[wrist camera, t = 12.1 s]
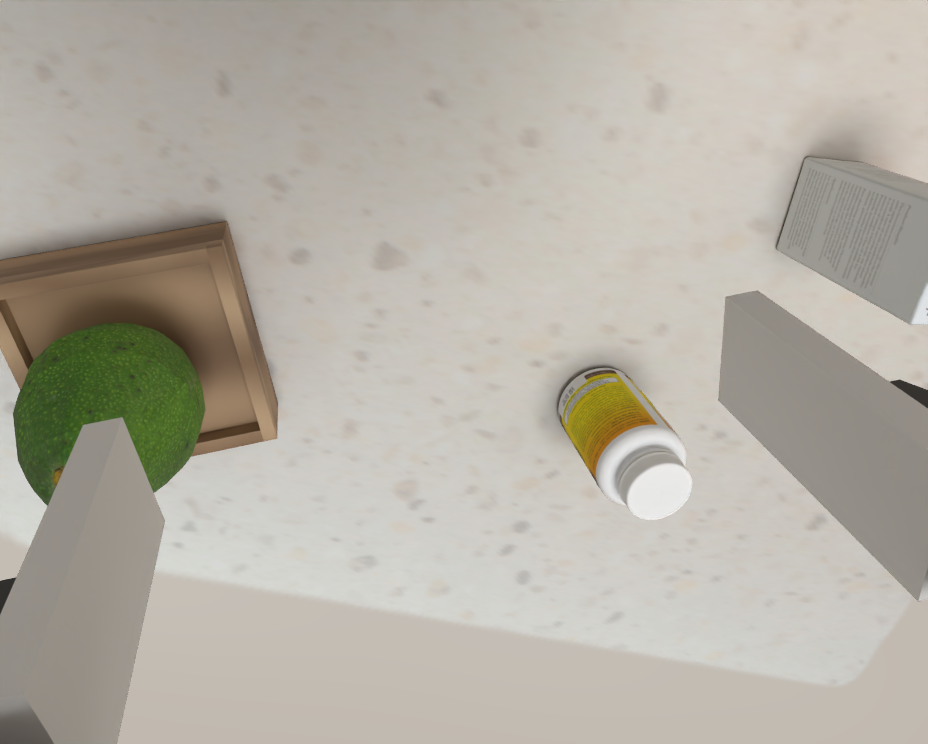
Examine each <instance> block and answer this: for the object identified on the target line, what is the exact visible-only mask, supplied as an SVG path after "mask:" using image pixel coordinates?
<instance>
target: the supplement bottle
mask: <svg viewBox="0 0 928 744" xmlns="http://www.w3.org/2000/svg"><path fill="white" fill-rule="evenodd" d="M558 413H559V419H560V422H561V424H562V426H563V428H564V430H565V431H566V433H567V435H568V436H569V438H570V440H571V441H572V443H573V445H574V446H575V448H576V450H577V451H578V453H579V455H580V456H581V458H582V459H583V461H584V463H585V465H586V466H587V468H588V469H589V471H590V473H591V474H592V476H593V478H594V479H595V481H596V483H597V485H598V487H599V488H600V489H601V491H602V492H603V493H604V495H605V496H606V497H607V498H609V499H610V500H612V501H613V502H615V503H618V504H620V505H625V506H627V507H628V509H629V510H630V511H631V512H632V514H634V515H635V516H637V517H638V518H641V519H645V520H656V519H661V518H664V517H666V516H669V515H671V514H673V513H674V512H676V511H677V510H678V509H679V508H680V507H681V506H682V505H683V504H684V503H685V502H686V501H687V499H688V497H689V495H690V493H691V490H692V477H691V475H690V473H689V471H688V470H687V469H686V467H685V466H686V460H687V456H686V449H685V446H684V444H683V442H682V440H681V439H680V437H679V436H678V435H677V433H676V432H675V431H674V430H673V429H672V427H671V426H670V425H669V424H668V423H667V421H666V420H665V419H664V418H663V417H662V415H661V414H660V413H659V412H658V411H657V409H656V408H655V407H654V406H653V404H652V403H651V402H650V401H649V400H648V399H647V397H646V396H645V395H644V394H643V393H642V391H641V390H640V389H639V388H638V387H637V386H636V385H635V383H634V382H633V381H632V380H631V379H630V378H629V377H628V376H627V375H626V374H624V373H623V372H621V371H618V370H616V369H612V368H597V369H592V370H589V371H587V372H584V373H582V374H581V375H579V376H578V377H576V378H575V379H574V380H573V381H572V382H571V383H570V384H569V385H568V386H567V387H566V389H565V390H564V392H563V394H562V396H561V399H560V402H559V408H558Z"/></svg>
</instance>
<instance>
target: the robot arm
mask: <svg viewBox="0 0 928 744" xmlns="http://www.w3.org/2000/svg"><path fill="white" fill-rule="evenodd" d="M718 400H719V401H720V402H721V403H722V404H723V405H724V406H725V407H726V409H727V410H728V411H729V412H730V413H731V414H732V415H733V416H734V417H735V418H736V419H737V420H738V421H739V422H740V423H741V424H742V425H743V426H744V427H745V428H746V429H747V430H748V431H749V432H750V433H751V434H752V435H753V436H754V437H755V438H756V439H757V440H758V441H759V442H760V443H761V444H762V445H763V446H764V447H765V448H766V449H767V450H768V451H769V452H770V453H771V454H772V455H773V456H774V457H775V458H776V459H777V460H778V461H779V462H780V463H781V464H782V465H783V466H784V467H785V468H786V469H787V470H788V471H789V472H790V473H791V474H792V475H793V476H794V477H795V478H796V479H797V480H798V481H799V482H800V483H801V484H802V485H803V486H804V487H805V488H806V489H807V490H808V491H809V492H810V493H811V494H812V495H813V496H814V497H815V498H816V499H817V500H818V501H819V502H820V503H821V504H822V505H823V506H824V507H825V508H826V509H827V510H828V511H829V512H830V513H831V514H832V515H833V516H834V517H835V518H836V519H837V520H838V521H839V522H840V523H841V524H842V525H843V526H844V527H845V528H846V529H847V530H848V531H849V532H850V533H851V534H852V535H853V536H854V537H855V538H856V539H857V540H858V541H859V542H860V543H861V544H862V545H863V546H864V547H865V548H866V549H867V550H868V551H869V552H870V554H871V555H872V556H873V557H874V558H875V559H876V560H877V561H878V562H879V563H880V564H881V565H882V566H883V567H884V568H885V569H886V570H887V571H888V572H889V573H890V574H891V575H892V576H893V577H894V578H895V579H896V580H897V581H898V582H899V583H900V584H901V585H902V586H903V587H904V588H905V589H906V590H907V591H908V592H909V593H910V594H911V595H912V596H913V597H914V598H915V599H916V600H917V601H922V600H926V599H928V390H926V389H923V388H920V387H918V386H915V385H912V384H910V383H907V382H904V381H902V380H895V381H891V382H889V381H887V380H886V379H884V378H883V377H882V376H880V375H879V374H877V373H876V372H874V371H873V370H871V369H870V368H869V367H867V366H866V365H864V364H863V363H861V362H860V361H858V360H857V359H856V358H854V357H853V356H851V355H850V354H848V353H847V352H845V351H844V350H843V349H841V348H840V347H838V346H837V345H835V344H834V343H832V342H831V341H829V340H828V339H827V338H825V337H824V336H822V335H821V334H819V333H818V332H816V331H815V330H814V329H812V328H811V327H809V326H808V325H806V324H805V323H803V322H802V321H801V320H799V319H798V318H796V317H795V316H793V315H792V314H790V313H789V312H788V311H786V310H785V309H783V308H782V307H780V306H779V305H777V304H776V303H775V302H773V301H772V300H770V299H769V298H767V297H766V296H764V295H763V294H762V293H760V292H759V291H752V292H747V293H742V294H737V295H732V296H727V297H726V299H725V313H724V327H723V341H722V355H721V369H720V383H719V397H718ZM164 523H165V520H164V517H163V515H162V512H161V510H160V508H159V505H158V503H157V500H156V498H155V495H154V493H153V490H152V488H151V486H150V483H149V481H148V478H147V476H146V473H145V471H144V468H143V466H142V464H141V461H140V459H139V456H138V454H137V451H136V449H135V447H134V444H133V442H132V439H131V437H130V434H129V432H128V429H127V427H126V425H125V422H124V420H123V417H121V418H116V419H111V420H106V421H101V422H96V423H91V424H86V425H83V427H82V429H81V431H80V433H79V436H78V438H77V440H76V443H75V445H74V447H73V449H72V452H71V454H70V456H69V459H68V461H67V463H66V465H65V468H64V470H63V472H62V475H61V477H60V479H59V481H58V484H57V486H56V488H55V491H54V493H53V495H52V497H51V500H50V502H49V504H48V507H47V509H46V511H45V513H44V516H43V518H42V520H41V523H40V525H39V527H38V529H37V532H36V534H35V536H34V539H33V541H32V543H31V545H30V548H29V550H28V552H27V555H26V557H25V559H24V561H23V564H22V566H21V569H20V571H19V573H18V575H17V577H16V578H12V579H7V580H2V581H0V744H117V741H118V736H119V732H120V727H121V723H122V718H123V713H124V709H125V704H126V700H127V695H128V690H129V686H130V681H131V676H132V672H133V667H134V663H135V658H136V653H137V649H138V644H139V639H140V634H141V630H142V625H143V620H144V616H145V611H146V607H147V602H148V597H149V593H150V588H151V584H152V579H153V574H154V570H155V565H156V560H157V556H158V551H159V546H160V542H161V537H162V532H163V528H164Z"/></svg>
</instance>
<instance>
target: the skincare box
mask: <svg viewBox="0 0 928 744" xmlns="http://www.w3.org/2000/svg"><path fill="white" fill-rule="evenodd" d="M777 250H778V251H780V252H781V253H783V254H785V255H787V256H788V257H790V258H792V259H794V260H795V261H797V262H799V263H801V264H803V265H804V266H806V267H808V268H810V269H812V270H814V271H816V272H817V273H819V274H821V275H822V276H824V277H826V278H828V279H829V280H831V281H833V282H835V283H836V284H838V285H840V286H842V287H844V288H846V289H847V290H849V291H851V292H853V293H855V294H856V295H858V296H860V297H862V298H863V299H865V300H867V301H869V302H871V303H872V304H874V305H876V306H878V307H880V308H881V309H883V310H886V311H887V312H889V313H891V314H892V315H894V316H896V317H898V318H899V319H901V320H903V321H904V322H906V323H908V324H910V325H928V183H925V182H922V181H919V180H916V179H912V178H909V177H906V176H903V175H900V174H897V173H894V172H891V171H888V170H884V169H881V168H878V167H875V166H872V165H869V164H866V163H863V162H853V161H843V160H834V159H824V158H813V157H807V158H805V160H804V164H803V167H802V170H801V174H800V177H799V180H798V183H797V186H796V189H795V192H794V196H793V199H792V202H791V205H790V208H789V212H788V215H787V218H786V221H785V224H784V227H783V230H782V233H781V237H780V240H779V243H778V246H777Z"/></svg>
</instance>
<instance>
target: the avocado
mask: <svg viewBox="0 0 928 744" xmlns="http://www.w3.org/2000/svg"><path fill="white" fill-rule="evenodd" d="M205 410H206V409H205V402H204V395H203V388H202V384H201V382H200V379H199V377H198V374H197V371H196V369H195V368H194V366H193V364H192V363H191V361H190V360H189V358H188V356H187V355H186V353H185V352H184V350H183V349H182V348H181V347H179V346H178V345H177V344H176V343H174V342H173V341H172V340H171V339H169V338H168V337H167V336H165V335H164V334H162V333H160V332H159V331H156V330H154V329H151V328H147V327H144V326H140V325H136V324H132V323H101V324H97V325H94V326H90V327H87V328H83V329H79V330H76V331H74V332H72V333H69V334H67V335H65V336H63V337H61V338H59V339H57V340H55V341H53V342H52V343H51V344H50V345H49V346H48V347H47V348H46V349H45V350H44V351H43V352H42V353H41V354H40V355H39V356H38V357H37V358H36V359H35V360H34V361H33V363H32V364H31V366H30V368H29V370H28V373H27V375H26V378H25V380H24V383H23V385H22V388H21V390H20V393H19V395H18V398H17V401H16V405H15V409H14V412H13V417H14V427H15V436H16V446H17V455H18V461H19V464H20V466H21V468H22V470H23V472H24V475H25V477H26V479H27V481H28V482H29V484H30V485H31V487H32V489H33V490H34V491H35V492H36V494H37V495H38V496H39V497H40V498H41V499H42V501H43V502H44V503H45V504H46V505H48V504H49V502H50V500H51V497H52V495H53V493H54V491H55V488H56V486H57V484H58V481H59V479H60V477H61V475H62V472H63V470H64V468H65V465H66V463H67V461H68V459H69V456H70V454H71V452H72V449H73V447H74V445H75V443H76V440H77V438H78V436H79V433H80V431H81V429H82V427H83V425H86V424H91V423H96V422H101V421H106V420H111V419H116V418H121V417H123V420H124V422H125V425H126V427H127V429H128V432H129V434H130V437H131V439H132V442H133V444H134V447H135V449H136V451H137V454H138V456H139V459H140V461H141V464H142V466H143V468H144V471H145V473H146V476H147V478H148V481H149V483H150V486H151V488H152V490H153V493H154V492H156V491H157V490H158V489H160V488H161V487H162V486H164V485H165V484H166V483H167V482H168V481H169V480H170V479H171V478H172V477H173V476H174V475H175V474H176V473H177V472H178V471H179V470H180V469H181V468H182V467H183V466H184V465H185V464H186V462H187V461H188V460H189V458H190V457H191V455H192V453H193V451H194V448H195V445H196V442H197V439H198V436H199V433H200V430H201V426H202V422H203V418H204V414H205Z"/></svg>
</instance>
